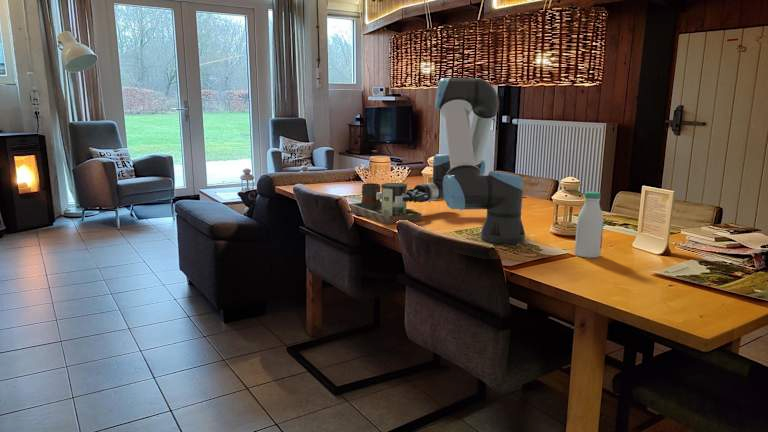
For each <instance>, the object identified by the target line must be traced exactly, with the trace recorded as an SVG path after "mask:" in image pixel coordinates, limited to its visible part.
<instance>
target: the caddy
mask: <svg viewBox="0 0 768 432" xmlns="http://www.w3.org/2000/svg"><path fill="white" fill-rule="evenodd" d="M380 201H381V208H382V200H380ZM348 204H349V206H350V208H351V211H352V212H351V211H350V212H351V213H353V212H355V213H354V214H356V213H358V214H357V215H359V214H360V215H359V216H362V217H365V218H368V219H370V220H373V221H375V222H376V221H377V222H379V223H382V224H384V225H387V226H388V225H396V222H397V221H399V220H408V221H411V222H410V223H413V222H421V221H422V212H419V211H415V210H412V209H409V208H406V214H405V215H396V216H386V215H383V214H382V209H381V210H380V211H371V210H368V209H365V208H362V207H361V202H354V203H348Z"/></svg>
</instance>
